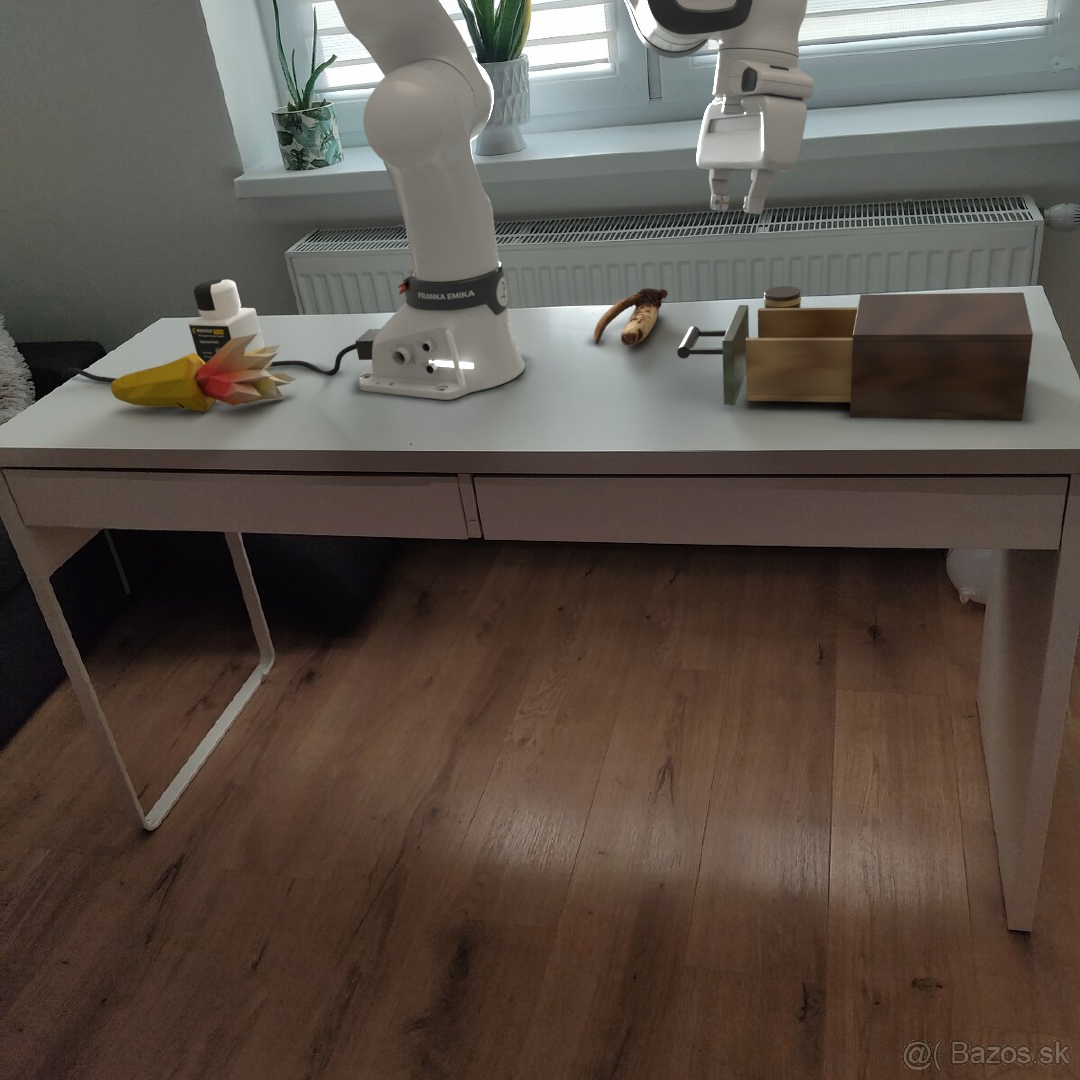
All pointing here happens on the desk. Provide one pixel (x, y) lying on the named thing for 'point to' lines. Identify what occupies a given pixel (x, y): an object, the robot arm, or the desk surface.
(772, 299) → the banded brown cylinder
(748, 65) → the robot arm
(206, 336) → the medicine bottle
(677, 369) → the desk surface
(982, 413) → the cabinet
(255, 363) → the torch
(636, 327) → the bone fish hook
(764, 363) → the drawer
